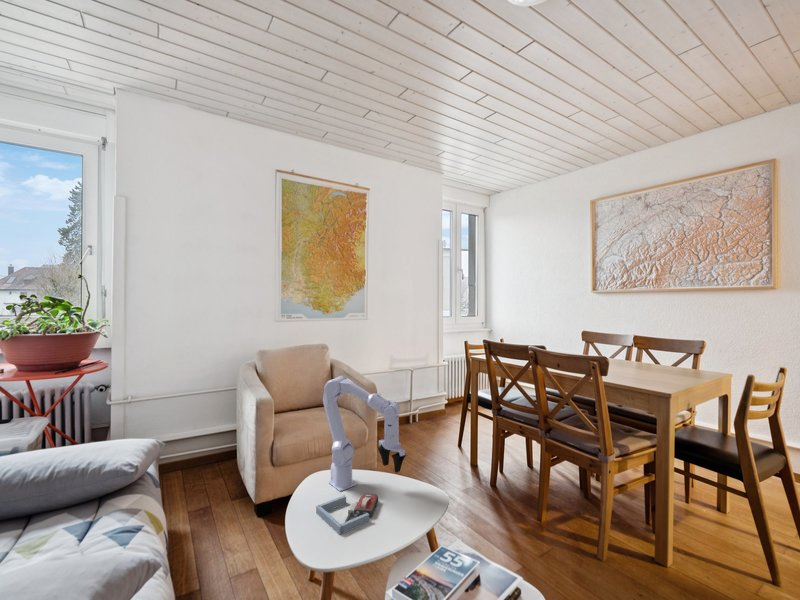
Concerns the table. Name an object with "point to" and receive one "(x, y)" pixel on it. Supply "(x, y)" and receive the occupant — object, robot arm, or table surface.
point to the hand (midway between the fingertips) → (391, 468)
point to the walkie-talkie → (363, 506)
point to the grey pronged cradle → (333, 523)
